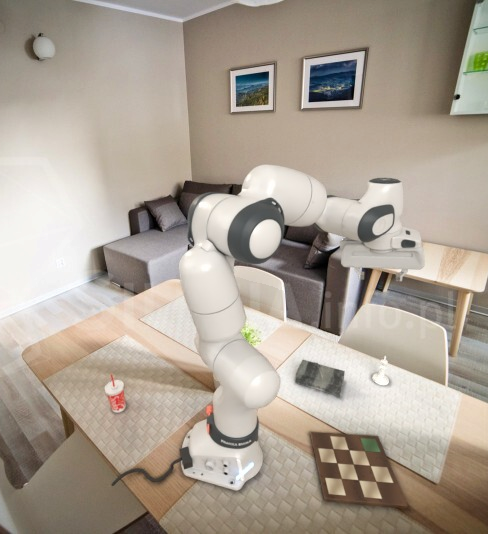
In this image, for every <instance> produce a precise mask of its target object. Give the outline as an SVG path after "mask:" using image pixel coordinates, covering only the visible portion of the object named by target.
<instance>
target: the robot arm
mask: <svg viewBox="0 0 488 534" xmlns="http://www.w3.org/2000/svg"><path fill="white" fill-rule="evenodd" d="M404 191H405V190H404V184H403V182H402V181H401V180H399V179H398V178H391V177H375V178H372V179H369V180H367V183H366V187H365V193H364V194H363V195H362V197H361V198H359V200H356V199H351V198H345V197H341V196H337V195H334V194H328V193H327V189H326V186H325V185H324V184H323V183H322V182H321V181H320V180H318V179H316V178H315V177H313V176H311V175H309V174H307V173H306V172H303V171H300V170H297V169H294V168H292V167H287V166H282V165H278V164H267V163H266V164H260V165H258V166H255V167H253V168H252V169H251V170H250V171H249V172H248V173H247V175H246V176H245V178H244V180H243V183H242V185H241V191H240V192H239V193H238V194H236V195H235V194H228V193H223V192H220V191H209V192H204V193H202V194H199V195H198V196H196V197H195V198H194V199H193V200H192V202H191V203H190V205H189V208H188V212H187V219H186V221H187V235H186V236H187V237H186V238H187V241H188V242H189V243H190V245H191V246H193V247H192V248H190V249H188V250H187V251H186V252H185V253H184V254H183V255H182V256H181V258H180V260H179V263H178V275H179V282H180V286H181V287H180V288H181V290H182V295H183V298H184V301H185V303H186V306H187V309H188V311H189V314H190V317H191V319H192V322H193V325H194V327H195V330H196V332H195V336H194V340H193V342H194V343H193V344H194V347H195V349H196V351H197V353H198V355H199V357H200V359H201V361H202V362H203V363H204V364H205V365H206V367H207V368H208V369H209V370H210V371H211V373H212V374H213V375H214V376H215V377H216V379H217V380H218V382H219V384H220V385H219V386H218V387H217V388H216V390H215V391H214V392H213V395H212V405H210V404H209V405H207V406H206V407H205V408H206V411H205V414H206V415H207V417H206V419H202V420H200V421H198V422H196V423H195V424H194V425H193V427H192V428H191V429H189V431H188V432H187V433H186V435H185V437H184V438H183V443H182V445H181V448H179V456H180V457H179V458H176V459H174V460H173V461H172V462H171V463H170V465H169V466H170V468H169V469H167V471H166V473H165V474H163V475H162V476H160V477H158V478H157V477H156V478H154V477H152V476H150V474H149V473H148V472H147V471H146V470H144V469H143V468H132V469H129V470H126V471H125V472H123V473H122V474H120V475H119V476H118V477H117V478H115V480H113V481H112V483H111V485H110V486H111V487H114V486H115V485H117V483H119V481H120V480H121V479H123V478H125V477H126V476H127V475H130V474H133V473H141V474H143V475H144V477H146V479H147V480H148V481H149V482H152V483H159V482H162V481H163V480H165V479H166V478H167V477H168V476H169V475H170V474H171V473H172V471H173V470H174V467H175V465H176V464H178V463H179V462H180V467H181V471H182V473H183V475H184V476H186V477H188V478H192V479H195V480H198V481H202V482H205V483H209V484H212V485H215V486H219V487H222V488H225V489H228V490H232V491H236V492H237V491H240V490H241V489H242V488H243V486H244V485H245V483H247V482H248V481H249V480H250V479H252V478H254V477H255V476H256V475H257V474H258V473H259V472H260V470H261V468H262V466H263V463H264V454H263V450H262V448H261V446H260V442H259V437H260V421H259V420H260V419H259V416H258V410H259V409H262V408H265V407H267V406H269V405H270V404H272V402H273V401H275V399H276V397H277V396H278V394H279V392H280V389H281V376H280V374H279V372H278V371H277V370H276V368H275V367H274V365H273V364H272V362H270V360H269V359H268V358H267V357H266V355H264V354H263V353H261V351H260V350H258V349H257V348H256V347H255V346H254V345H252V344H251V342H249V340H247V338H246V337H245V336H244V335H243V333H242V331H243V329H244V328H245V326H246V323H247V314H246V311H245V307H244V303H243V299H242V296H241V295H242V294H241V293H240V289H239V285H238V282H237V278H236V276H235V261H238V262H240V263H243V264H249V265H261V264H264V263H266V262H268V261H269V260H270V259H272V257H274V255H275V254H276V253H277V252H278V250H279V249H280V247H281V245H282V241H283V240H284V239H283V238H284V233H285V226H289V227H299V228H301V227H302V228H303V227H310V226H312V225H313V227H314V228H315V229H316V230H318V231H319V232H323V233H327V234H332V235H336V236H340V237H342V239H341V240H340V242H339V249H340V250H341V257H340V258H341V259H340V265H341V266H342V267H343V268H354V272H355V273H356V275H358V278H357V279H358V280H365V271H362V270H361V269H385V270H387V269H388V270H389V269H390V270H401V271H400V272H395V282H403V278H404V277H405V276H406V275H407V273H408V272H409V270H417V271H419V270H422V269H424V267H425V266H426V265H425V263H426V262H425V261H426V260H425V259H426V258H425V251H424V245H423V242H422V235H421V232H420V231H419V230H417V229H415V228H409V227H405V226H403V223H402V216H403V213H404V209H405V208H404V207H405V192H404Z"/></svg>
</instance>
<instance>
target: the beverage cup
mask: <svg viewBox="0 0 488 534" xmlns="http://www.w3.org/2000/svg"><path fill="white" fill-rule="evenodd" d="M110 379H111V381H109V382H107V384H105V386H104V392H105V394H106V396H107V399H108V402H109V405H110V407H111V410H112V412H113V413H115V414H116V413H118V414H119V413H122V412H123V411H124V410H125V409H126V407H127V403H126V397H125V390H124V389H125V384H124V382H123V381H122V380H121V379H114V376H113V374H110Z"/></svg>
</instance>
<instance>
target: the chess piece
mask: <svg viewBox="0 0 488 534" xmlns="http://www.w3.org/2000/svg"><path fill="white" fill-rule="evenodd" d="M388 363H389V361H388V360H387V356H386V355H384V356H383V359H380V364H379V368H380V370H379V372H375V373H373V374H372V377H371V379H372V381H373V383H376V384H378V385H380V386H387V385H388V384H389V383H390V379H389V377H388V376H387V375H385V370H387V368H388V367H387V365H388Z"/></svg>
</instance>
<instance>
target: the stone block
mask: <svg viewBox="0 0 488 534" xmlns="http://www.w3.org/2000/svg"><path fill="white" fill-rule="evenodd" d="M345 372H346V371H345V370H342V369H339V368H334V367H332V366H327V365H324V364H320V363H318V362H315V361H311V360H310V361H309V360H306V359H302V360H301V362H300V363H299V365H298V368H297V370H296V372H295V380H294V381H295V383H296V384H298V385H302V386H304V387H308V388H311V389H315V390H318V391H320V392H323V393H325V394H329V395H332V396H335V397H337V398H341V396H342V391H343V385H344V383H345V382H344V381H345Z"/></svg>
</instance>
